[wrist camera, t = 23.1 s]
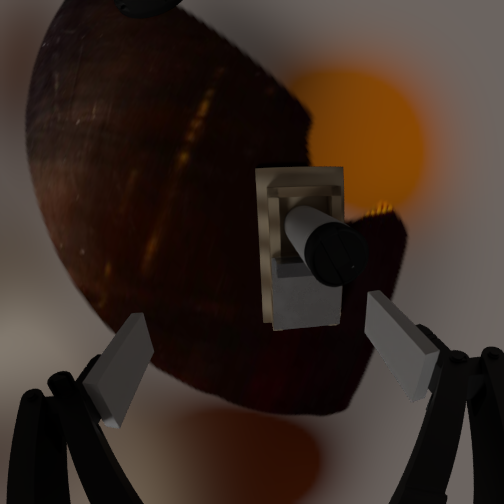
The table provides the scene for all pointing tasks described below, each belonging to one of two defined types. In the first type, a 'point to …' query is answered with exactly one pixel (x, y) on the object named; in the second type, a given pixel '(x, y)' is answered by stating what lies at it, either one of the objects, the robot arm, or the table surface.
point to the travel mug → (326, 245)
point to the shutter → (301, 296)
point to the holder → (281, 202)
